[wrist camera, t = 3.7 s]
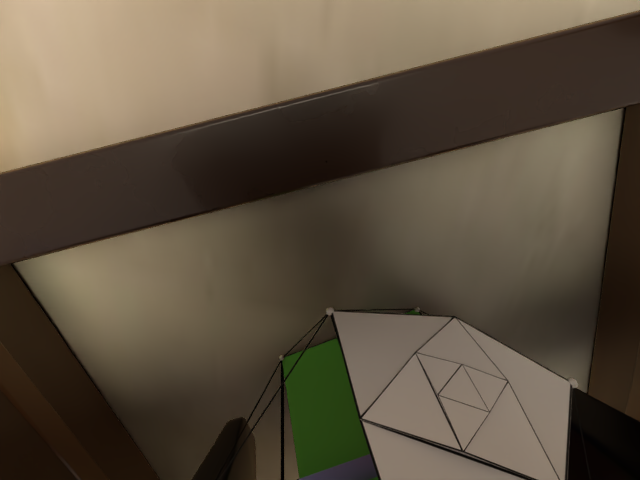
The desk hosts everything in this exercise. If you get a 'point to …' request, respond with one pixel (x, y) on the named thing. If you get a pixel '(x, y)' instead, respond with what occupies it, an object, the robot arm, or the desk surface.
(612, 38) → the square wooden frame
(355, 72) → the desk surface
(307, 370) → the geometric puzzle
